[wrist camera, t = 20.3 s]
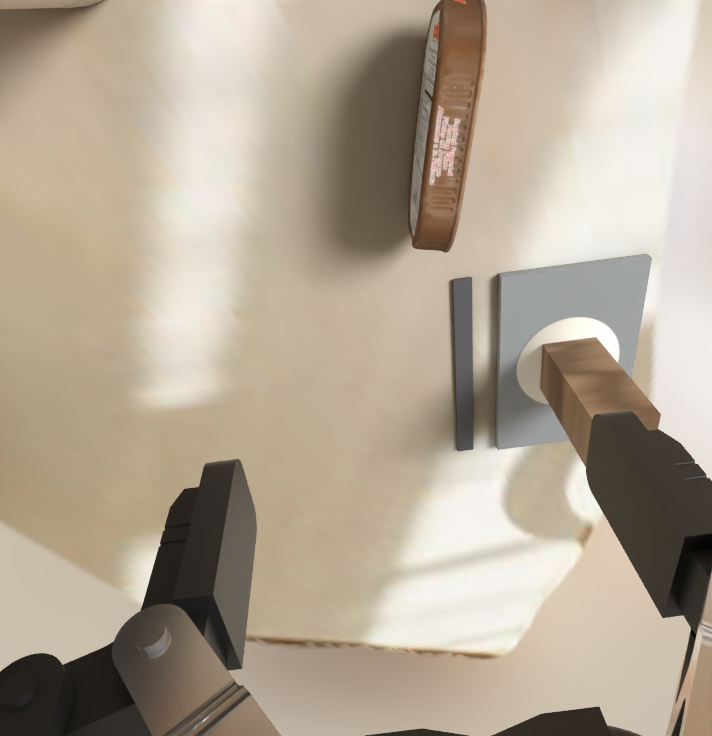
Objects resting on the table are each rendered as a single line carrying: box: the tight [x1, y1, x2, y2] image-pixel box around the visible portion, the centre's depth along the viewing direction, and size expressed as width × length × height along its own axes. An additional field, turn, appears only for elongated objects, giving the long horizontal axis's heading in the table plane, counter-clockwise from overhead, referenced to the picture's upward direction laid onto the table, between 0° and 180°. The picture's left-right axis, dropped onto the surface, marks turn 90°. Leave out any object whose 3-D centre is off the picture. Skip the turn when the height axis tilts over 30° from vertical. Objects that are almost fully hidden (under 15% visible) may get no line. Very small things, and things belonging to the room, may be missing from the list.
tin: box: [408, 0, 487, 252], centre depth 37 cm, size 15×3×8 cm, turn 176°
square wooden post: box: [540, 337, 661, 467], centre depth 46 cm, size 5×5×11 cm
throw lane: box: [453, 254, 652, 451], centre depth 52 cm, size 16×18×1 cm
